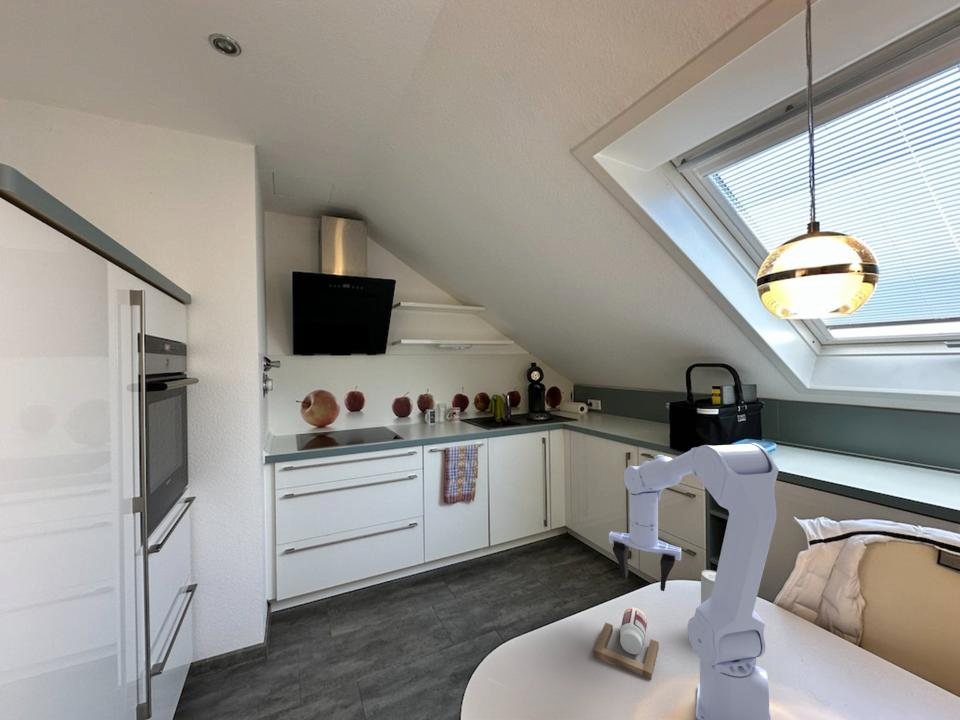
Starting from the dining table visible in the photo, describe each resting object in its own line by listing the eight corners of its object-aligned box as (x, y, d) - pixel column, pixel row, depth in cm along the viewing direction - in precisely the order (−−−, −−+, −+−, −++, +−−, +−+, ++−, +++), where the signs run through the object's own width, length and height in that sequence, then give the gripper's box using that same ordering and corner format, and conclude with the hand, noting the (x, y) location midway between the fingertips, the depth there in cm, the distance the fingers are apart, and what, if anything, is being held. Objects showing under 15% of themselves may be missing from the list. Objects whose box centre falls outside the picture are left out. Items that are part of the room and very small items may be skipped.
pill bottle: (625, 627, 84) (619, 653, 76) (622, 604, 84) (616, 629, 76) (648, 631, 81) (645, 659, 74) (646, 609, 82) (642, 634, 74)
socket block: (658, 649, 77) (658, 641, 77) (651, 681, 69) (651, 673, 69) (605, 629, 82) (605, 622, 82) (593, 657, 75) (593, 649, 75)
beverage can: (731, 641, 79) (731, 583, 79) (705, 638, 80) (705, 581, 80) (721, 625, 84) (721, 570, 83) (697, 622, 85) (697, 568, 84)
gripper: (682, 521, 83) (682, 583, 83) (613, 507, 91) (614, 564, 91) (679, 534, 77) (679, 601, 77) (606, 518, 85) (606, 579, 85)
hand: (643, 582), depth 84 cm, fingers open, 7 cm apart
